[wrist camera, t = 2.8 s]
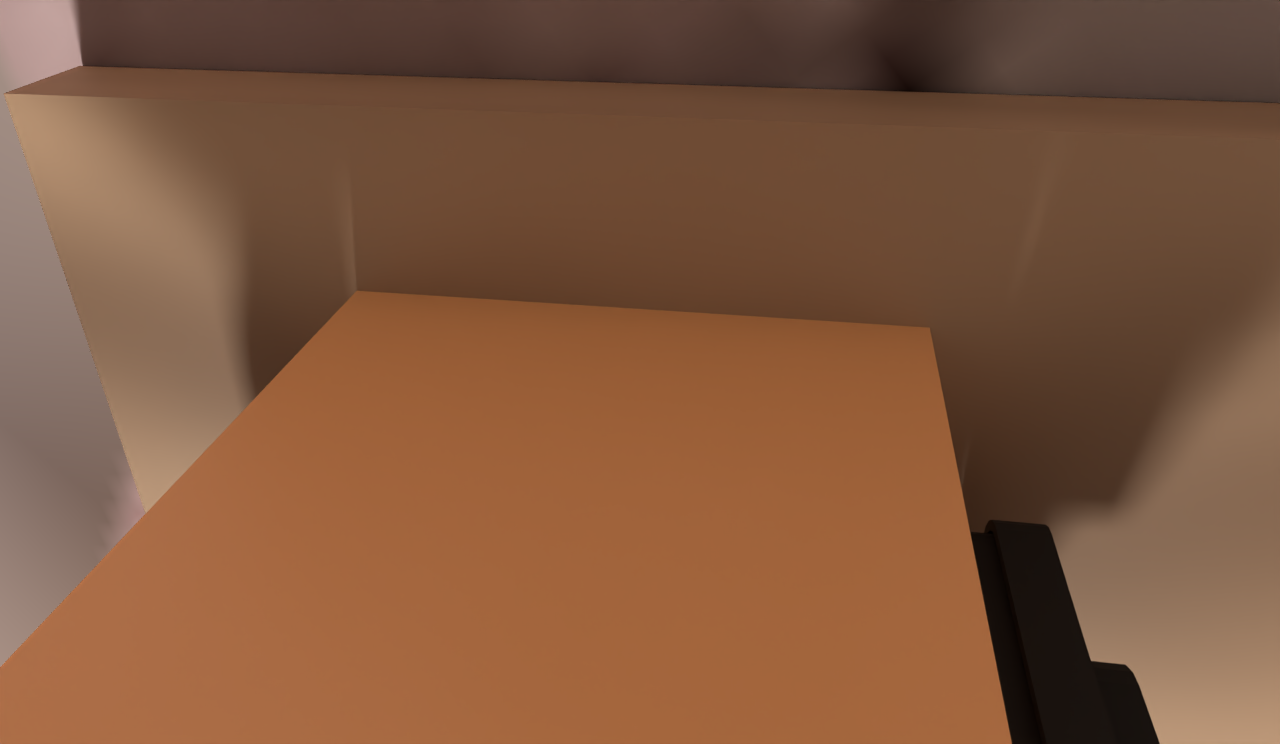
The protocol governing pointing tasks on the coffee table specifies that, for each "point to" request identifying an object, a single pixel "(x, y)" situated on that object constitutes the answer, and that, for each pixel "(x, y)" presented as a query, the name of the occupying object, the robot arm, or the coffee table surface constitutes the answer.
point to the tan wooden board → (748, 285)
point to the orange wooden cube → (544, 546)
